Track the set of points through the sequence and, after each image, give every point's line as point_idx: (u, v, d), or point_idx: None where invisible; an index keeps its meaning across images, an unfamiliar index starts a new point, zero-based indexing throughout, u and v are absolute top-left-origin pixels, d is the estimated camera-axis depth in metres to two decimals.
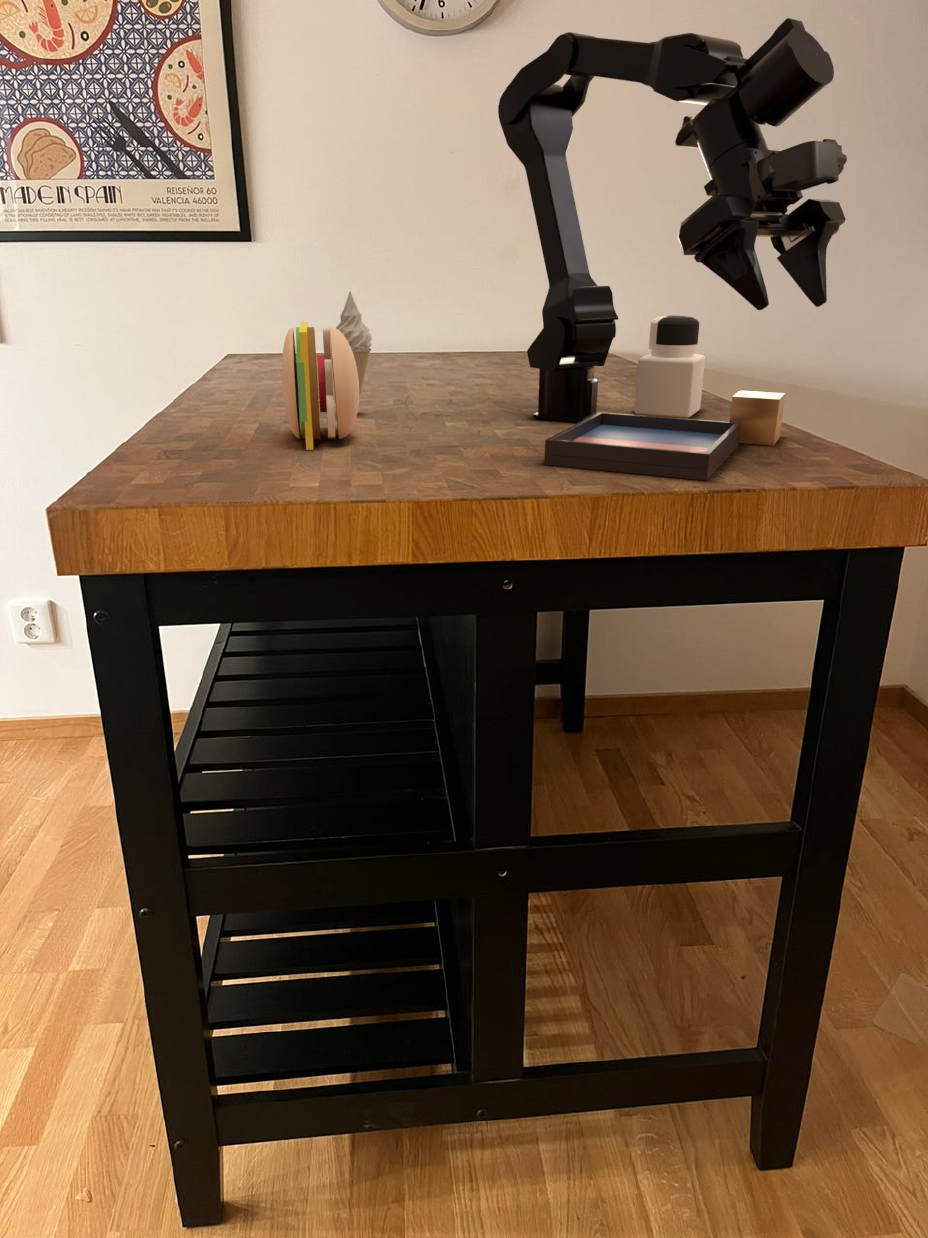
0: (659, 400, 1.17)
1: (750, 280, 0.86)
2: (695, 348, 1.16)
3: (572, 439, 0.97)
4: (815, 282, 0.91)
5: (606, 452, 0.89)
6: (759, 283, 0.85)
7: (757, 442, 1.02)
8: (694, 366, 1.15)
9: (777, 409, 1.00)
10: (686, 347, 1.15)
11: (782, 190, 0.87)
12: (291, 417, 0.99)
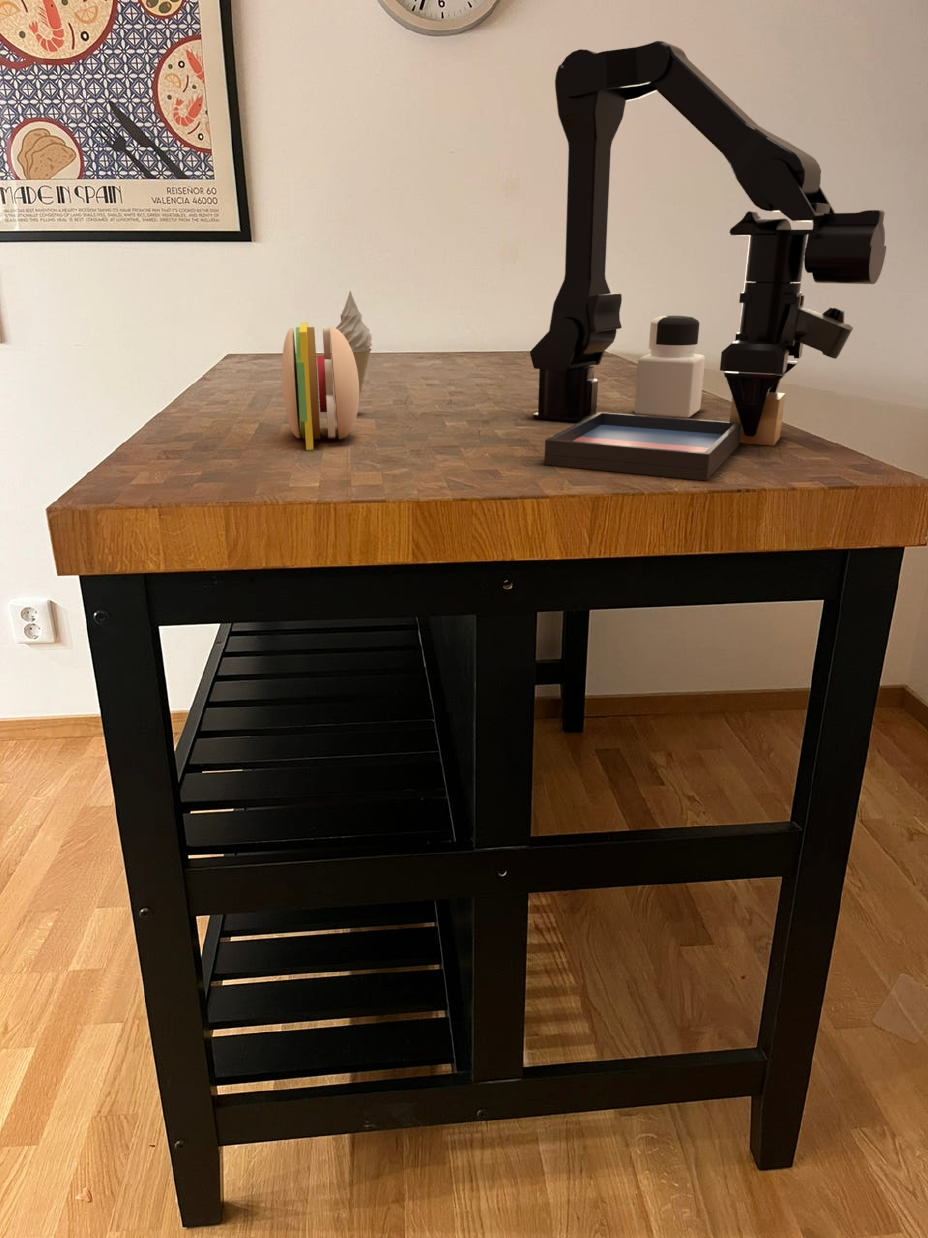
0: (659, 400, 1.17)
1: (754, 413, 0.99)
2: (695, 348, 1.16)
3: (572, 439, 0.97)
4: None
5: (606, 452, 0.89)
6: (759, 419, 0.99)
7: (757, 442, 1.02)
8: (694, 366, 1.15)
9: (777, 409, 1.00)
10: (686, 347, 1.15)
11: None
12: (291, 417, 0.99)
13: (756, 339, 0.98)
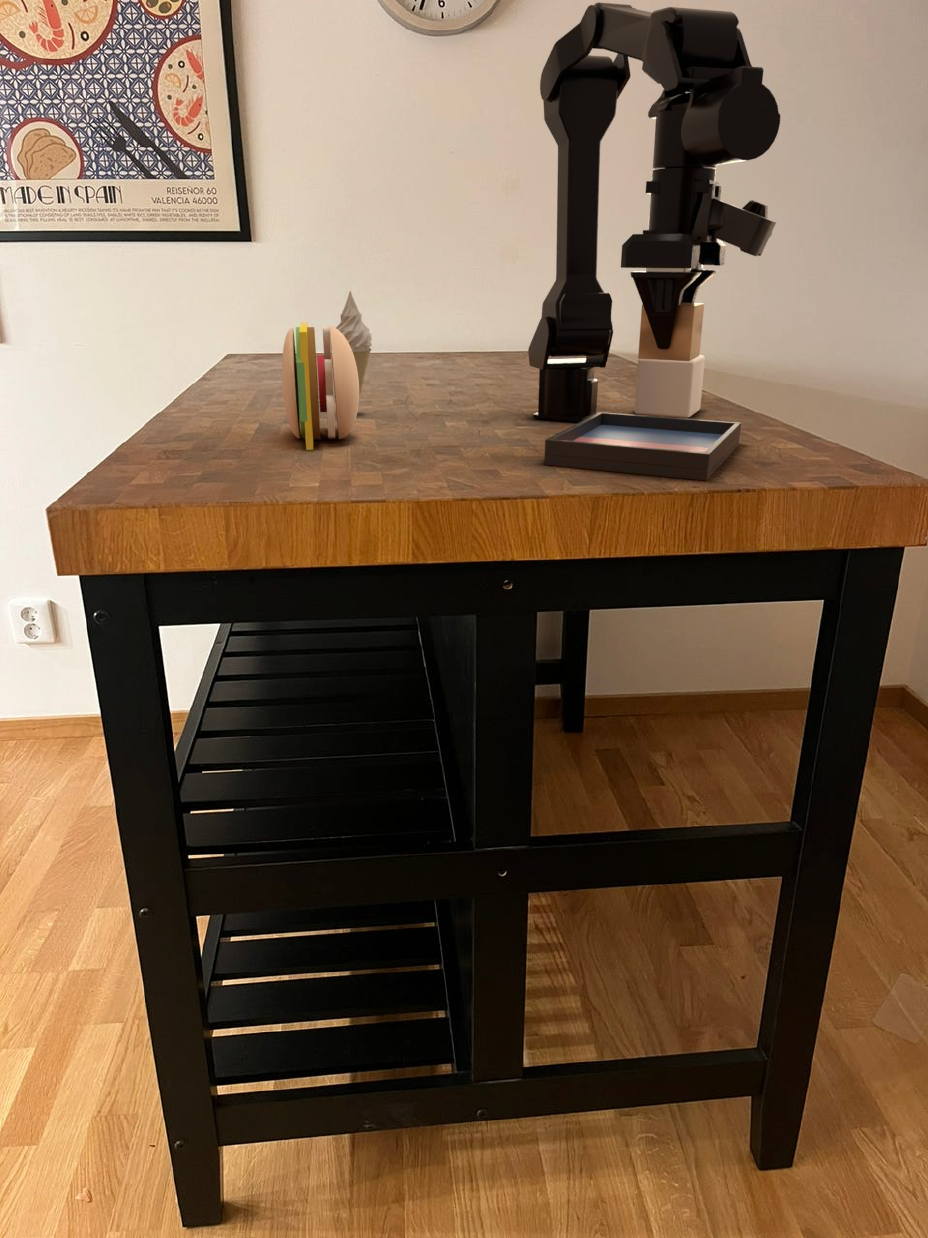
0: (659, 400, 1.17)
1: (667, 321, 0.87)
2: None
3: (572, 439, 0.97)
4: None
5: (606, 452, 0.89)
6: (673, 328, 0.87)
7: (671, 357, 0.89)
8: (694, 366, 1.15)
9: (692, 317, 0.87)
10: None
11: None
12: (291, 417, 0.99)
13: None
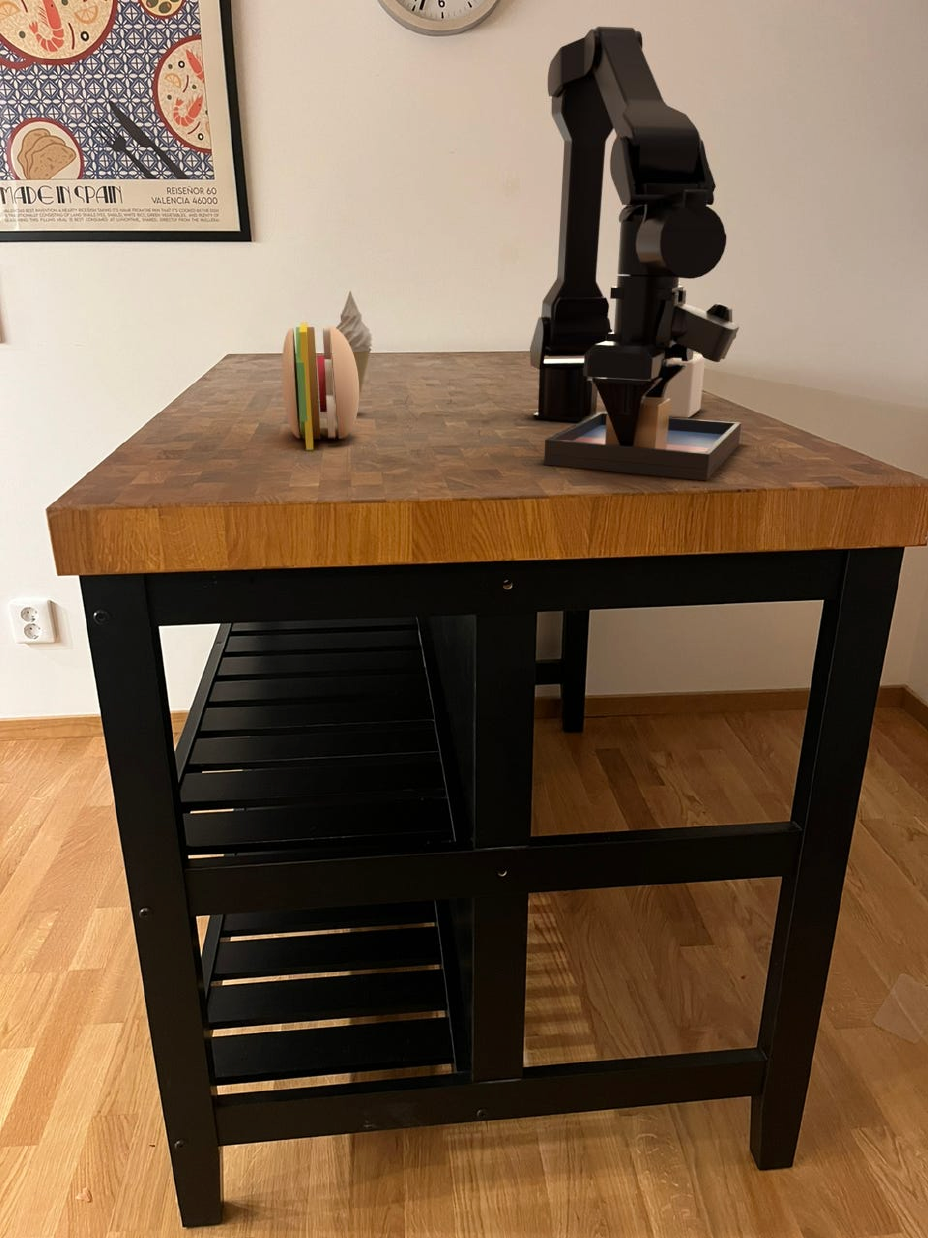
0: None
1: (629, 423, 0.87)
2: None
3: (572, 439, 0.97)
4: None
5: (606, 452, 0.89)
6: (635, 430, 0.88)
7: None
8: (694, 366, 1.15)
9: (656, 417, 0.88)
10: None
11: None
12: (291, 417, 0.99)
13: (629, 340, 0.86)
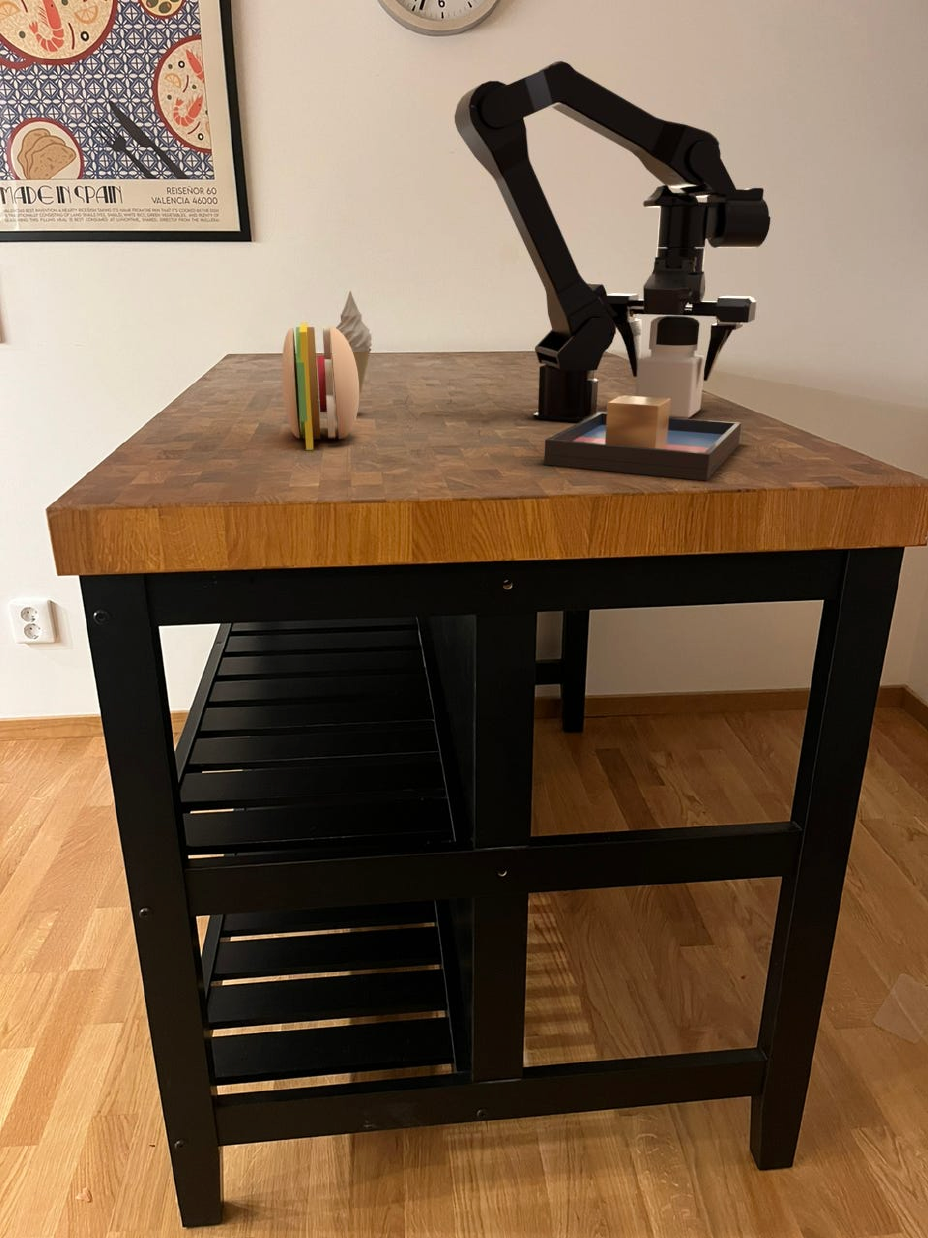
0: None
1: None
2: (695, 348, 1.16)
3: (572, 439, 0.97)
4: None
5: (606, 452, 0.89)
6: (630, 361, 1.20)
7: None
8: (694, 366, 1.15)
9: (656, 417, 0.88)
10: (686, 347, 1.15)
11: None
12: (291, 417, 0.99)
13: None
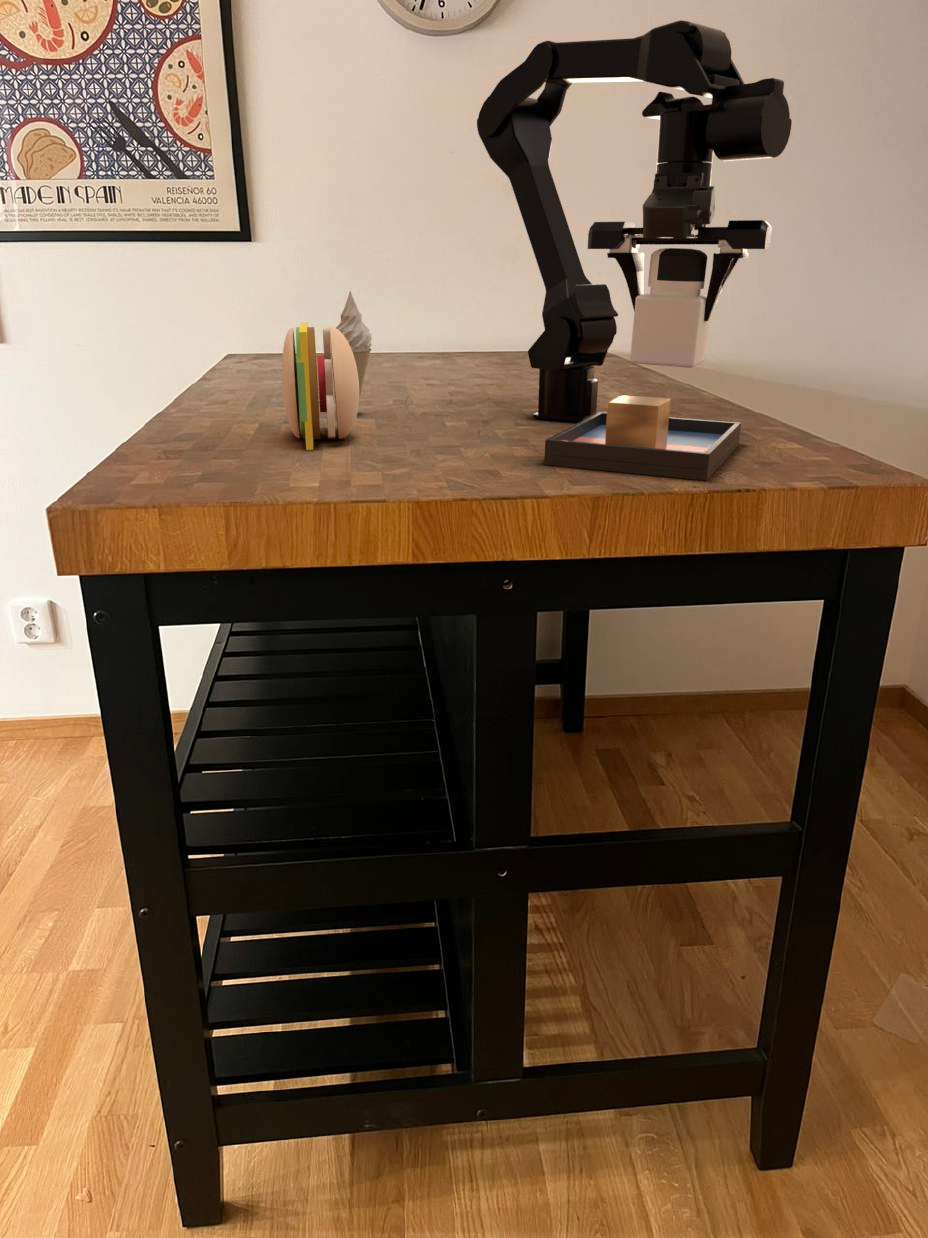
0: (659, 346, 1.01)
1: None
2: (702, 286, 1.00)
3: (572, 439, 0.97)
4: None
5: (606, 452, 0.89)
6: (632, 300, 1.03)
7: None
8: (701, 306, 0.99)
9: (656, 417, 0.88)
10: (692, 284, 0.99)
11: None
12: (291, 417, 0.99)
13: None
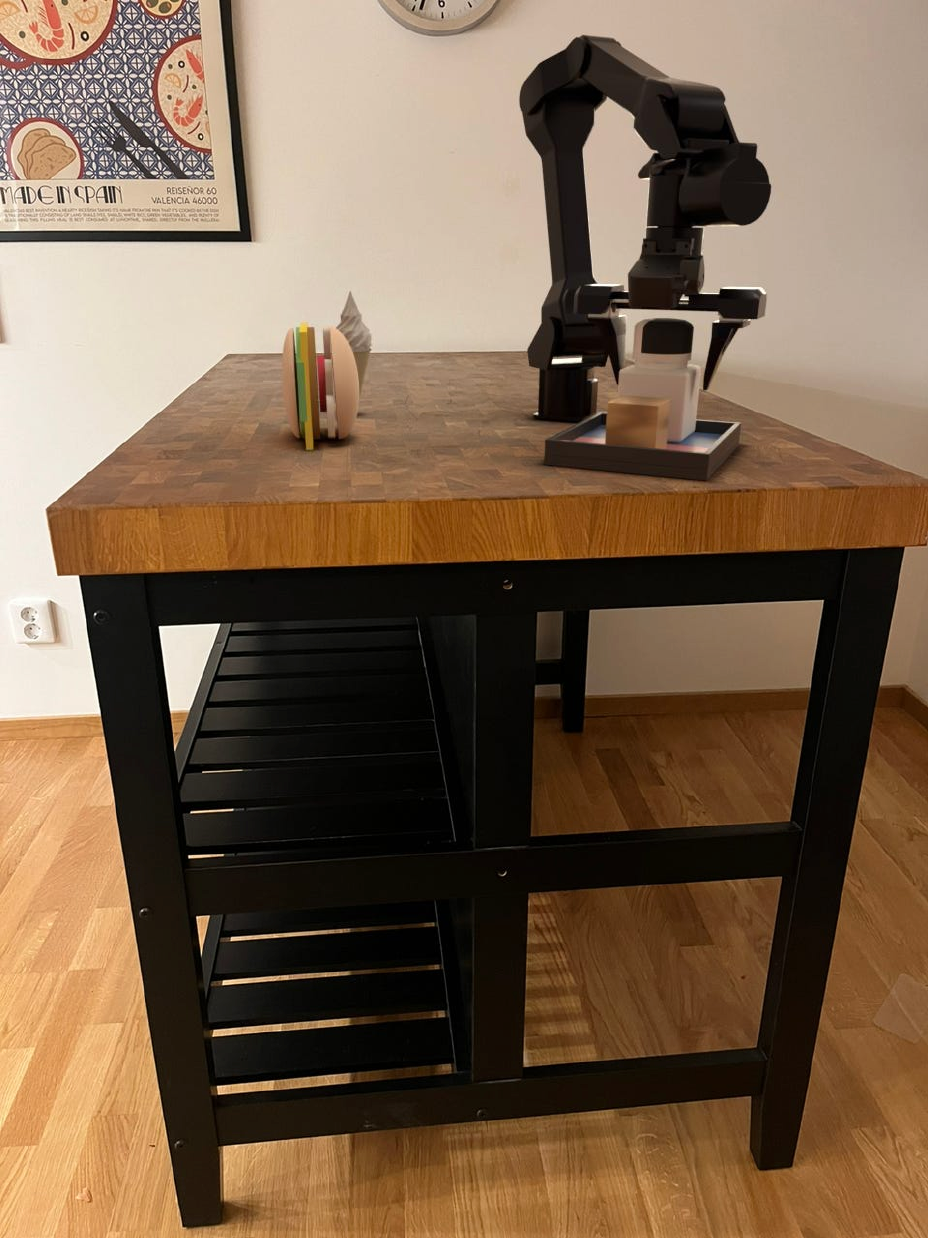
0: None
1: None
2: (689, 358, 0.96)
3: (572, 439, 0.97)
4: None
5: (606, 452, 0.89)
6: (612, 366, 0.99)
7: None
8: (687, 380, 0.94)
9: (656, 417, 0.88)
10: (678, 357, 0.95)
11: None
12: (291, 417, 0.99)
13: None
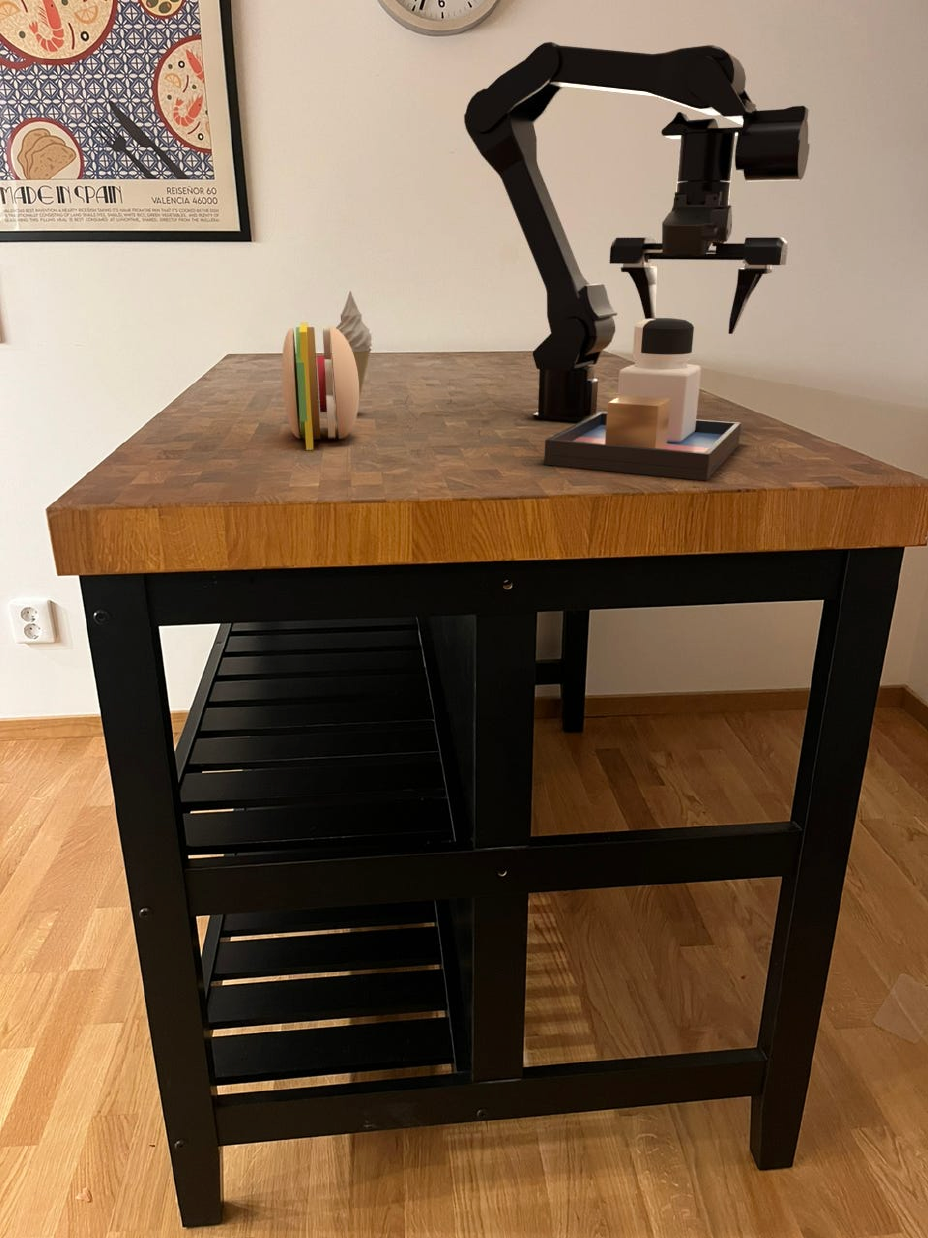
0: None
1: None
2: (689, 358, 0.96)
3: (572, 439, 0.97)
4: None
5: (606, 452, 0.89)
6: (644, 313, 1.07)
7: None
8: (687, 380, 0.94)
9: (656, 417, 0.88)
10: (678, 357, 0.95)
11: None
12: (291, 417, 0.99)
13: None
